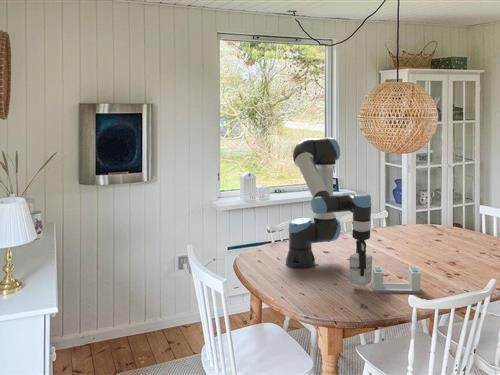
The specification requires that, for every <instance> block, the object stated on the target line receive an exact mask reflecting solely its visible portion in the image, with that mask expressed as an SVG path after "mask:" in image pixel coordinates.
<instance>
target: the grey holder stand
mask: <svg viewBox="0 0 500 375" xmlns="http://www.w3.org/2000/svg"><path fill="white" fill-rule="evenodd" d="M407 268H408V270H407V271H408V272H407V282H384V271H383V269H382V267H381V266H373V265H372V280H371V283H370V286H371V289H372V293H373V294H410V293H412V294H411V295H416V294H417V295H419V294H420V295H422V293H423V292H422V290H421V281H422V280H421V276H422V275H421V271H420V270H419V269H418V267H417V266H408V267H407Z"/></svg>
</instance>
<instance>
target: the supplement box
mask: <svg viewBox="0 0 500 375" xmlns="http://www.w3.org/2000/svg"><path fill="white" fill-rule="evenodd" d="M348 265H349V270H348V271H349V274H348V276H349V277H348V283H350V284H353V285H357V286H360V287H361V288H363V287H365V286H367V285H369V284H371V283H372V278H373V255H371V254H367V253H366V269H365V283H359V282H358V277H359V269H358V267H359V253H356V252H355V253H354V254H351V255H350V256H349V264H348Z"/></svg>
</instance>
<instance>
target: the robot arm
mask: <svg viewBox="0 0 500 375" xmlns="http://www.w3.org/2000/svg"><path fill="white" fill-rule="evenodd" d="M340 148H341V147H340V145H339V143H338V141H337V139H335V138H334V137H318V138H317V137H315V138H304V139H302V140H300V141H299V142H298V143H297V144H296V145H295V146H294V149H293V153H292V158H293V159H292V160H293V162H294V164H295V166H296V167H297V168H299V171H300V173H301V175H302V176H303V177H302V178H303V179H304V181H305V183H306V184H305V185H306V186H307V188H308V189H309V192H310V195H311V197H312V198H311V201H310V207H311V210H312V212H313V213H314V215H313V220H312V219H311V218H310V217H300V218H295V219H292V220H291V221H290V222H289V224H288V251H287V255H286V259H285V264H286V266H288V265H289V266H288V267H290V266H292V267H291V268H294V267H296V269H306V267H307V268H311V267H314V266H315V265H316V259H315V255H314V252H313V249H312V248H313V246H312V245H313V244H315V243H326V242H327V243H330V242H334V241H337V240H338V239H339V237H340V235H341V230H342V227H341V222H340V220H339V219H338V218H337V215H336V214H335V213H344V212H345V213H346V212H351V213H352V221H351V225H352V238H353V239H354V240H356V241H355V244H356V246H355V249H356V250H355V253H359V267H358V269H359V277H358V282H359V283H365V269H366V254H367V253H366V252H367V243H366V240H367V241H368V240H370V238H371V226H372V225H371V224H372V221H371V220H372V219H371V217H372V197H371V195H370V194H369V193H364V192H358V193H351V192H344V193H343V194H340V195H339V194H337V195H334V172H333V171H334V170H333V168H334V167H335V165H337V163H336V162H337V160H339V159H340V156H341V149H340Z"/></svg>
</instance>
